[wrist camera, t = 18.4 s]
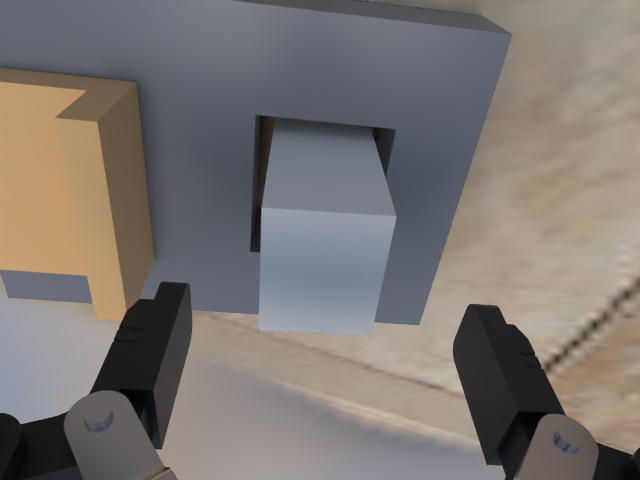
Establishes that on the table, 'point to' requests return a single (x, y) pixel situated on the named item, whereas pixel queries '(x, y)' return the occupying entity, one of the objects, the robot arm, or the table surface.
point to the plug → (323, 229)
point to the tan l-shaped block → (75, 184)
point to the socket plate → (277, 101)
